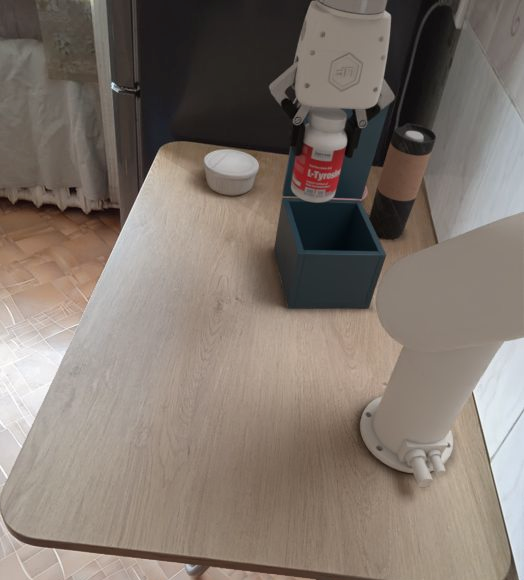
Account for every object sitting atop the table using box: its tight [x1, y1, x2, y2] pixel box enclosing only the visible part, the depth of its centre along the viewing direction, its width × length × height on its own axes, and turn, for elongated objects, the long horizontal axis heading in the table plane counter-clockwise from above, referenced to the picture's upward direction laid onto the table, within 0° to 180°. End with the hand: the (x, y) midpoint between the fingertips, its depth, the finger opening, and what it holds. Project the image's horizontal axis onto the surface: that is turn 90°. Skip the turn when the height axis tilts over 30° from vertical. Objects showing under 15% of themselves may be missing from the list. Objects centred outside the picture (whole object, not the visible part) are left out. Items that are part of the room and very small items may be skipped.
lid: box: [281, 103, 391, 199], centre depth 92 cm, size 17×14×5 cm
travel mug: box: [368, 123, 437, 240], centre depth 107 cm, size 8×8×20 cm
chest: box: [273, 197, 387, 309], centre depth 96 cm, size 16×14×11 cm
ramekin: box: [203, 149, 260, 196], centre depth 117 cm, size 11×11×5 cm
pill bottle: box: [291, 107, 348, 203], centre depth 74 cm, size 6×6×11 cm
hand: (321, 151), depth 73 cm, fingers closed on pill bottle, 6 cm apart
